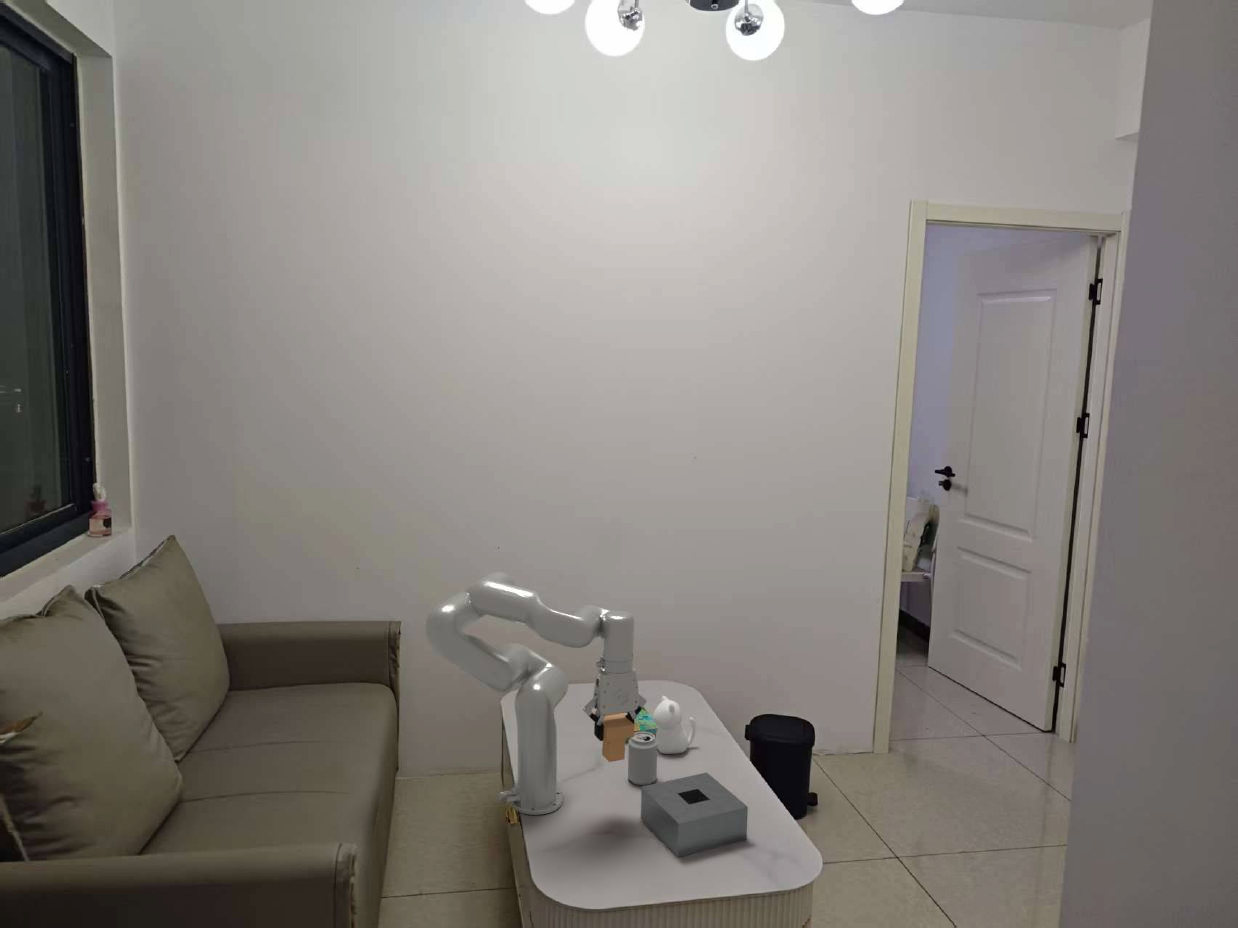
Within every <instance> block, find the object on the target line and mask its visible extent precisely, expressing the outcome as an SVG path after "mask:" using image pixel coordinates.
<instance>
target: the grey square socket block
mask: <svg viewBox="0 0 1238 928" xmlns="http://www.w3.org/2000/svg"><path fill="white" fill-rule="evenodd" d="M640 792H641V793H640V794H641V796H640V819H641V820H642V822H643V823H644V824H645V825H646V826H648V828H649V829H650V830H651V831H652V832H653V833H654V834H655V835H656V837H658V839H659V840H660V841H661V842H662V843H663V844H664V845H665V846H666V847H667V849H669V850H670V851H671V853H673V854H674V856H676V857H677V859H678V858H681V857H682V858H683V857H686V856H690V855H694V854H697V853H701V852H704V851H708V850H712V849H717V848H719V847H723V846H724V847H725V846H728V845H732V844H735V843H739V842H743V841H746V840H748V839H747V837H748V836H747V835H748V834H747V833H748V814H749V808H748V807H749V806H747V805H746V804H745V803H744V802H743V801H741V799H740V798H738V796H736V795H735V794H733V793H732V792H731V791H730V790H728V789H727V788H726V787H725V786H724V785H722V784H721V782H719V781H717V779H715V777H713V776H712V775H711V774H710V773H708V772H702V773H698V774H694V775H689V776H685V777H680V778H675V779H670V780H666V781H662V782H656V783H651V784H649V785H642V786H641V791H640Z"/></svg>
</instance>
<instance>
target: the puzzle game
mask: <svg viewBox="0 0 1238 928" xmlns="http://www.w3.org/2000/svg"><path fill="white" fill-rule="evenodd" d="M622 714H623V715H624V716H626V715H627V713H622ZM658 728H659V727H658V726H657V725H656V724H655V723H654V721H653V715H651V714H650V712H649V711H648V710H647V708H645V706H643V708H642V709H641V711H640V712H639V713H638V715H637V718H636V719H634V733H636V732H649V733H652V734H653V735H654V736H655V739H656V732H657V729H658ZM630 739H631V737H630V738H625V743H627V742H628V743H629V740H630Z"/></svg>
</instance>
